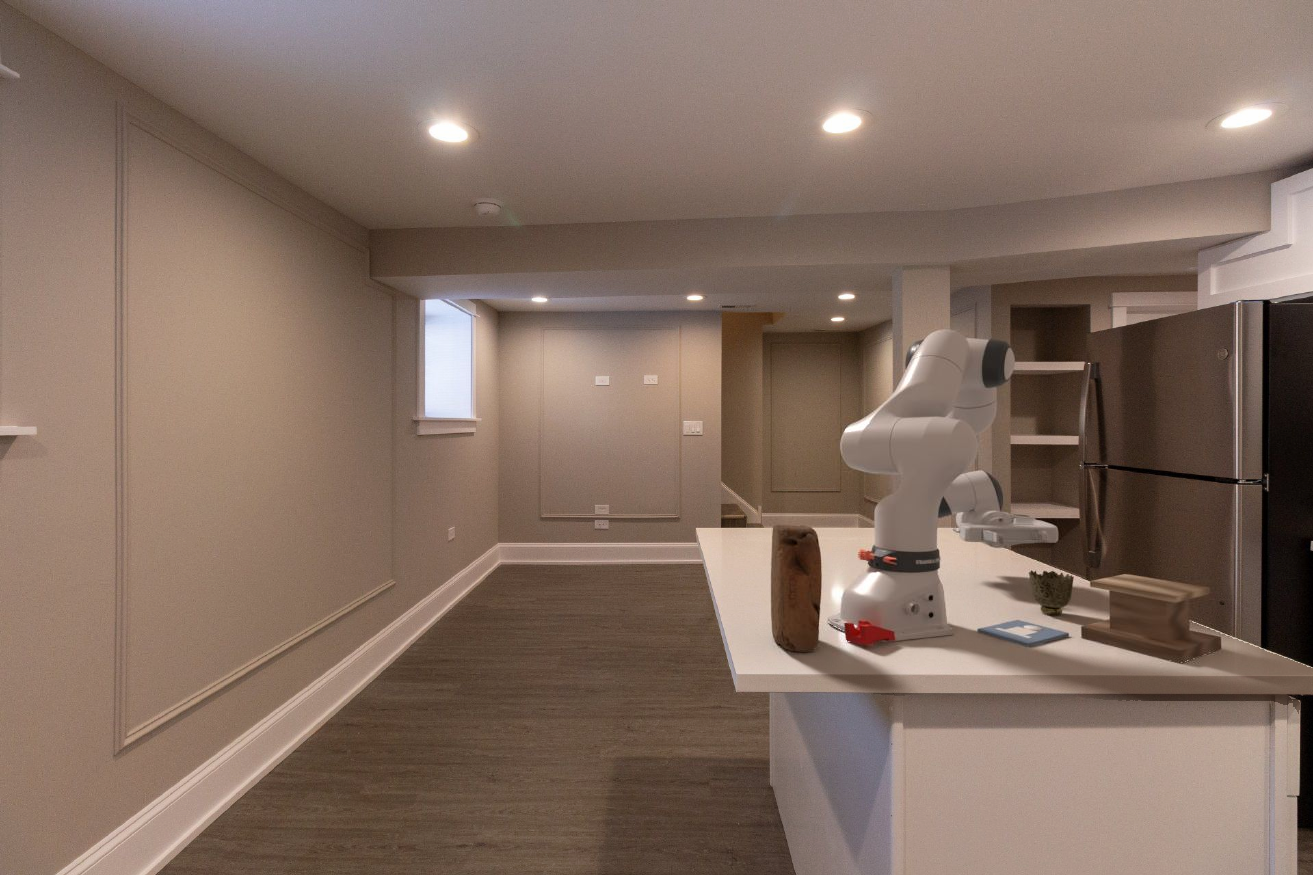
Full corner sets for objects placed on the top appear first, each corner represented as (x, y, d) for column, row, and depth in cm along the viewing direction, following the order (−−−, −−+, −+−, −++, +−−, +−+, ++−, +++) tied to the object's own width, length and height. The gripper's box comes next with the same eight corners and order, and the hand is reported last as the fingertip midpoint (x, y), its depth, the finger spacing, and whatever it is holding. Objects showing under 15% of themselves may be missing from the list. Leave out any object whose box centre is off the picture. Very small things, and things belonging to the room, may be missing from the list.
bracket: (866, 645, 98) (865, 626, 99) (845, 640, 102) (844, 622, 103) (895, 640, 101) (893, 622, 101) (873, 636, 105) (871, 618, 106)
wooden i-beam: (1180, 663, 92) (1179, 598, 92) (1081, 637, 104) (1080, 580, 104) (1221, 648, 98) (1220, 588, 98) (1122, 626, 111) (1122, 572, 111)
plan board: (1028, 647, 99) (1028, 642, 100) (977, 632, 107) (977, 628, 107) (1068, 636, 105) (1068, 632, 105) (1017, 622, 113) (1017, 619, 113)
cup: (1060, 609, 122) (1060, 570, 122) (1082, 619, 115) (1082, 578, 115) (1022, 608, 123) (1021, 569, 123) (1041, 618, 116) (1041, 577, 116)
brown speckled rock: (769, 633, 107) (768, 522, 107) (811, 634, 107) (810, 522, 107) (779, 654, 96) (778, 530, 96) (826, 655, 96) (825, 530, 96)
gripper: (949, 515, 147) (972, 523, 133) (1039, 515, 144) (1071, 523, 130) (950, 541, 146) (972, 552, 133) (1039, 541, 144) (1072, 552, 130)
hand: (1022, 538), depth 131 cm, fingers open, 8 cm apart
